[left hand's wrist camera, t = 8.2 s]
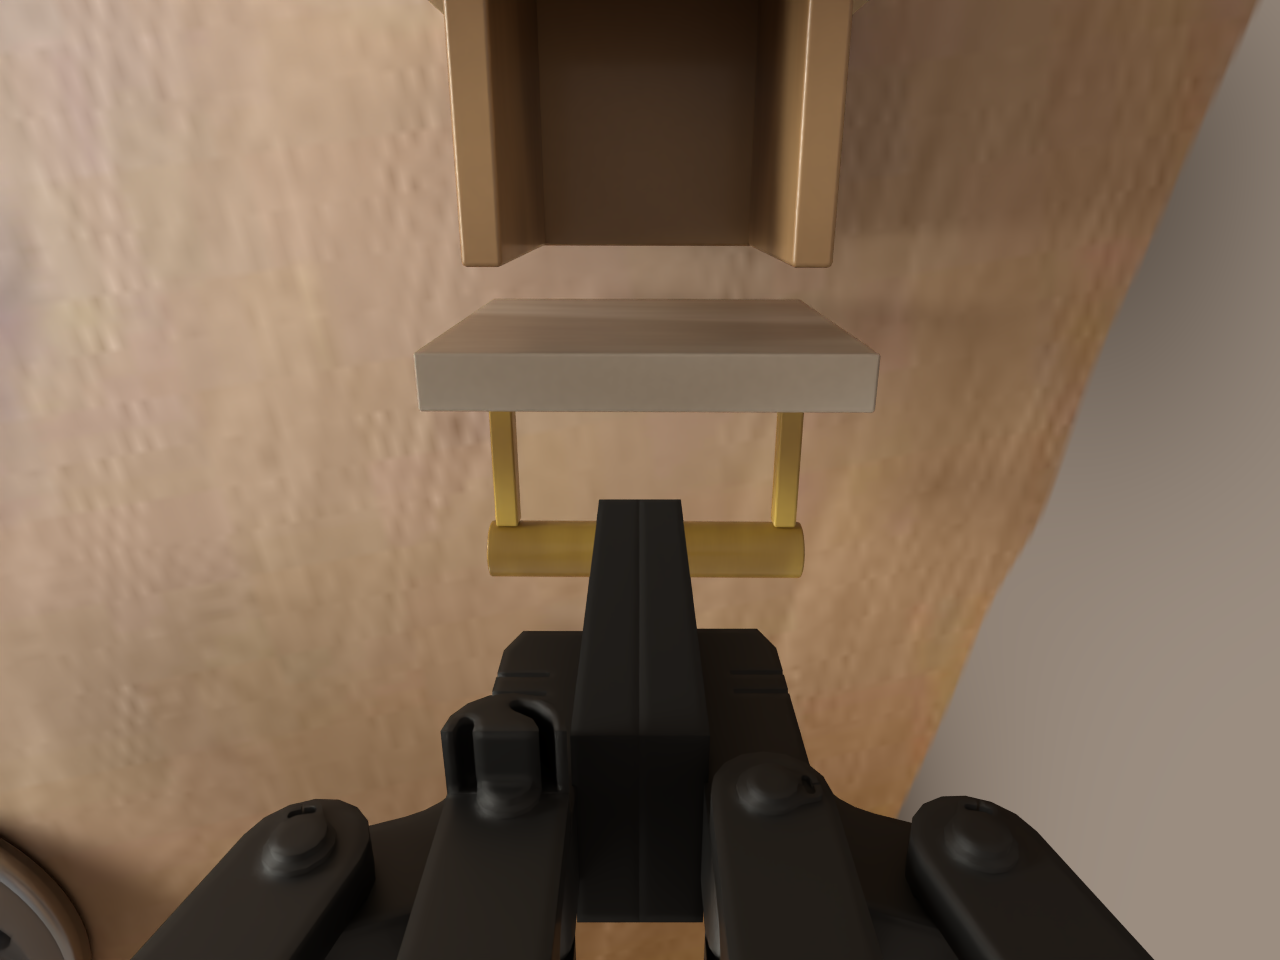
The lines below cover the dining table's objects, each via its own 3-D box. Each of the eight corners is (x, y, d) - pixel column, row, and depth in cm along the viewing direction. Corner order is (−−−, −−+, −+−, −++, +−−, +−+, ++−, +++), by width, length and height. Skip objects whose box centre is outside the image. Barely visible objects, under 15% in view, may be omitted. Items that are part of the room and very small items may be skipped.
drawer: (785, 518, 26) (849, 665, 18) (506, 517, 26) (441, 663, 18) (843, -334, 19) (995, -743, 11) (454, -333, 19) (307, -738, 11)
